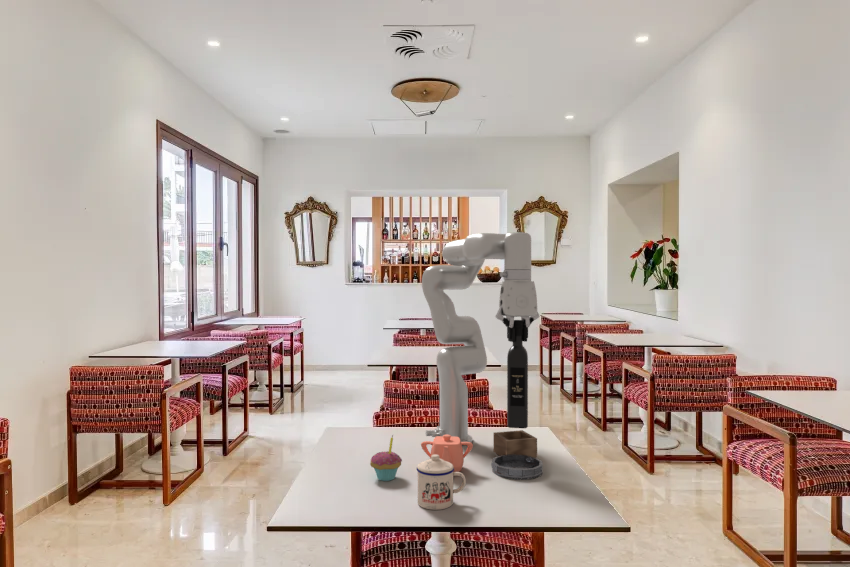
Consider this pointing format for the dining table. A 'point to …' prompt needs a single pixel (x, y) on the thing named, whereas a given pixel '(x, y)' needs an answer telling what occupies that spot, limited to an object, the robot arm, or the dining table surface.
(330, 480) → the dining table surface
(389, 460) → the cupcake
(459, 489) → the teacup with lid
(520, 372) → the wine bottle
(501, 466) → the serving bowl
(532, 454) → the open square wooden box
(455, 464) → the teapot
